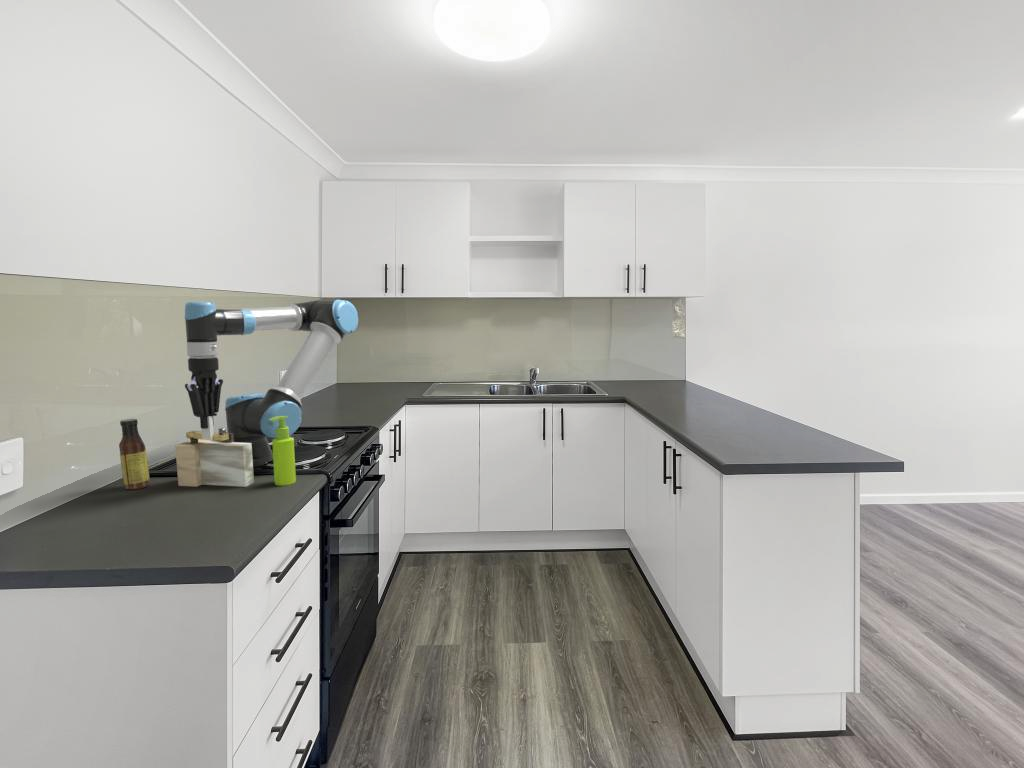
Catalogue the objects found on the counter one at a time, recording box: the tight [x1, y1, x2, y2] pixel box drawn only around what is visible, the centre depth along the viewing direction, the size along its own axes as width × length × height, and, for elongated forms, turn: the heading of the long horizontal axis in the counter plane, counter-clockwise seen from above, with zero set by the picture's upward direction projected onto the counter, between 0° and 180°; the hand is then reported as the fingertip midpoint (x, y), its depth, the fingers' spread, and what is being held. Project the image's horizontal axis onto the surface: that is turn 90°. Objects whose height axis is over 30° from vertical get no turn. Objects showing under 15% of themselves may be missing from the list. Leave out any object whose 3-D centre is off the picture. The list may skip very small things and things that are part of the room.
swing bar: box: [185, 427, 229, 442], centre depth 163 cm, size 13×3×3 cm, turn 73°
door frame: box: [174, 433, 255, 488], centre depth 164 cm, size 8×20×15 cm, turn 81°
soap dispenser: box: [269, 416, 297, 486], centre depth 164 cm, size 6×7×20 cm
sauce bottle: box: [118, 418, 150, 491], centre depth 160 cm, size 7×6×20 cm
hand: (208, 438), depth 161 cm, fingers closed
